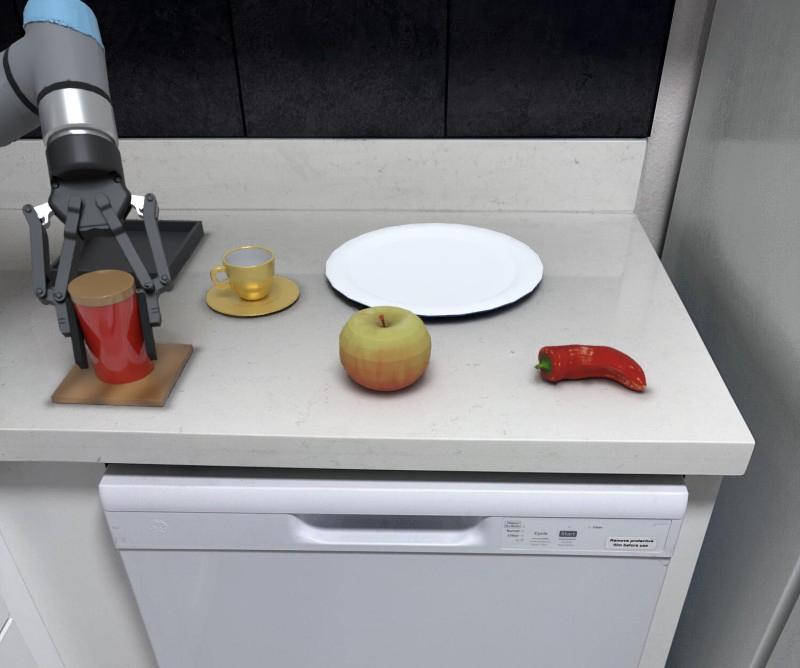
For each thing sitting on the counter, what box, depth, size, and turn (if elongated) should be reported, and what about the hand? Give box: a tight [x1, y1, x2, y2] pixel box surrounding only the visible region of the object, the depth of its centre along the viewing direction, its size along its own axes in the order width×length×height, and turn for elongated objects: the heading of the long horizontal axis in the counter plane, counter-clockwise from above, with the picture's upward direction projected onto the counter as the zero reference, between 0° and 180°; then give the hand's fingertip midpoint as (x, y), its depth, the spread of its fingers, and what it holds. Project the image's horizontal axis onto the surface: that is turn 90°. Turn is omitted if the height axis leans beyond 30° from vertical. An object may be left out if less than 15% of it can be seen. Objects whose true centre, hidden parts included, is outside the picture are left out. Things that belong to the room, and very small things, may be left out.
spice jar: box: [68, 270, 154, 384], centre depth 84 cm, size 7×7×10 cm
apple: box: [338, 306, 432, 392], centre depth 84 cm, size 10×10×8 cm
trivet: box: [50, 342, 194, 408], centre depth 88 cm, size 12×12×1 cm
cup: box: [205, 245, 300, 317], centre depth 100 cm, size 12×12×5 cm
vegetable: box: [533, 344, 647, 392], centre depth 85 cm, size 4×5×12 cm
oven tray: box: [50, 218, 205, 289], centre depth 111 cm, size 16×18×2 cm
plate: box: [325, 222, 544, 318], centre depth 106 cm, size 29×29×2 cm
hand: (117, 360), depth 83 cm, fingers closed on spice jar, 6 cm apart
